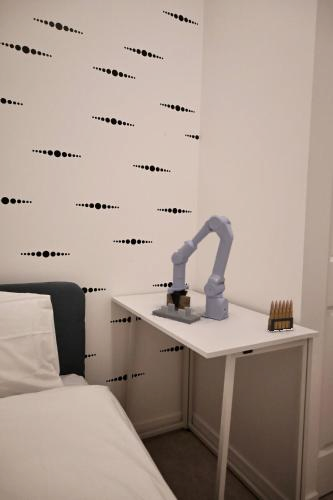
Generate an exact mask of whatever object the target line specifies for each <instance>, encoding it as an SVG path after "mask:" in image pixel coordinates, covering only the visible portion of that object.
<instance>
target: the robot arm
mask: <svg viewBox="0 0 333 500" xmlns="http://www.w3.org/2000/svg"><path fill="white" fill-rule="evenodd" d="M232 228H233V227H232V222H231V221H230V220H229V218H228V217H227V216H224V215H215V214H214V215H211V216H210V217H209V218H208V219H207V220H206V221H205V222H204V224H203V225H202V226H201V228H200V229H199V230H198V232H197V233H196V234H195V235H194V236H193V238H192V239H188V240H185V241H184V242H183V243H184V244H183V245H182V246H181V247H180V248H178V249H177V251H175V252H173V254H171V257H170V259H171V263H172V285H171V286H170V287H169V288H167V293H166V294H168V293H169V294H170V296H171V298H172V301H173V304H174V305H175V307H178V305H179V298H180V295H183V296H187V295H188V290H189V289H190V285H188V284H186V265H187V263H188V261H189V258H190V257H191V256H192V255H193V254H194V253H195V252H196V250H198V245H199V244H200V243H201V242H202V241H203V240H204V239H205V238H206V237H207V236H208V235H209V234H211V233H215V234H216V235H217V236H218V237H219V244H218V248H217V252H216V254H215V260H214V263H213V267H212V270H211V274H210V275H209V277H208V279H207V282H206V283H205V285H204V286H203V292H204V293H205V311H204V312H205V313H203V314H201V317H206V318H209V319H214V320H219V321H221V320H224V319H226V318H228V317H229V300H228V299H227V298H225V297H224V295H223V293H224V292H225V290H226V285H225V282H226V278H225V272H226V270H227V269H226V268H227V265H228V262H229V261H228V260H229V257H230V252H231V250H232V247H233V246H232V245H233V241H234V236H235V235H234V232H233V229H232Z"/></svg>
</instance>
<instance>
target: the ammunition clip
mask: <svg viewBox="0 0 333 500" xmlns="http://www.w3.org/2000/svg"><path fill="white" fill-rule="evenodd" d="M293 304H294V303H293V300H292V299H290V301H289V300H288V299H287V300H286V302H285V300H284V299H283V301H281V300H279V302H278V300H275V302H274V300H272V301H271V303H270V308H269V309H270V310H269V318H268V321H267V323H268V324H267V331H268V330H269V331H274V330H283V329H291V328H293V329H294V313H293V312H294V309H293ZM269 331H268V332H269Z"/></svg>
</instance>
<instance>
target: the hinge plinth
mask: <svg viewBox="0 0 333 500" xmlns="http://www.w3.org/2000/svg"><path fill="white" fill-rule="evenodd" d="M160 306H161V308H158V309H156V310H152V311H151V312H152V313H151V315H153V316H157V317H160V318H164V319H168V320H172V321H177V322H180V323H185V324H188V325H191V324H194V323H196V322H199V321H201V320H202V319H201V318H202V316H200V315H196V314H192V307H190V308H188V307H184V310H182V309H178V310H174V308H175V305H174V304H170V303H169V304H168V306H166V305H160Z"/></svg>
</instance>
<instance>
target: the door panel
mask: <svg viewBox="0 0 333 500" xmlns="http://www.w3.org/2000/svg"><path fill="white" fill-rule="evenodd" d="M169 303H170V304H173V301H172V298H171V296H170V294H169V293H166V305H165V306H168V304H169ZM184 307H188V308H191V296H189V295H188V296H187V295H186V296H183V295H180V298H179V305H178V307H175V308H174V310H175V311H178V309H182V310H184Z"/></svg>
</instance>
